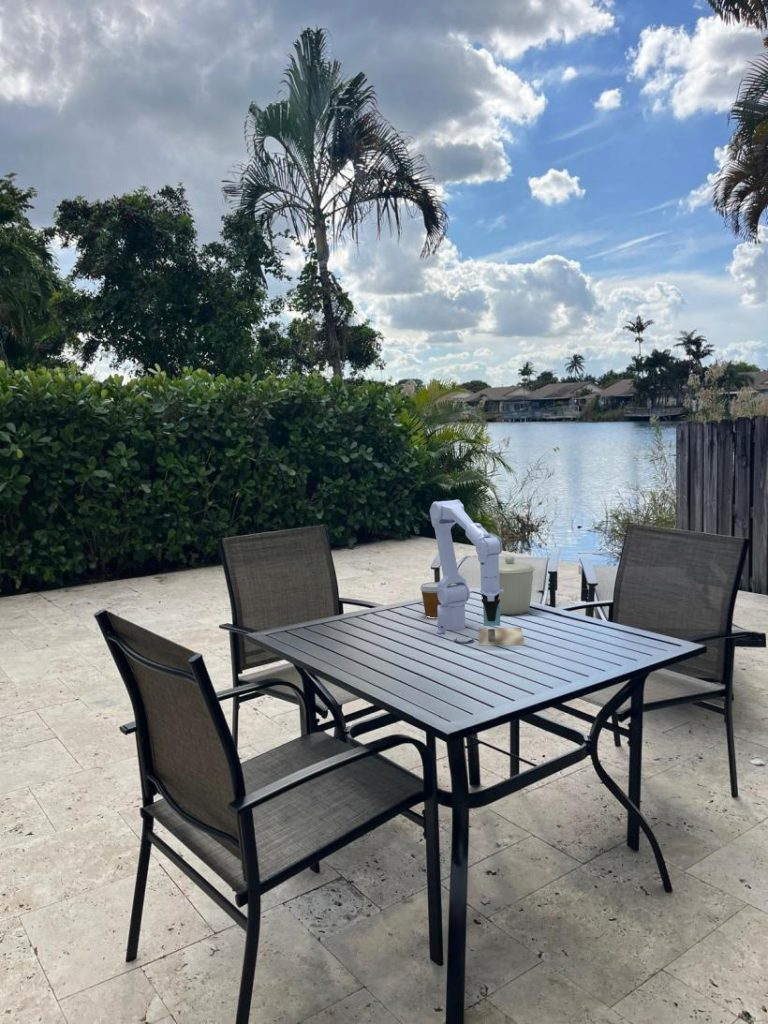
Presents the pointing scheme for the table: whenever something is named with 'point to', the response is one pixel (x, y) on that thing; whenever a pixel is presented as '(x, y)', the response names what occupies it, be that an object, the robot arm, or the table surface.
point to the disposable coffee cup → (430, 598)
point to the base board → (501, 636)
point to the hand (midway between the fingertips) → (491, 618)
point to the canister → (515, 586)
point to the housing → (497, 619)
